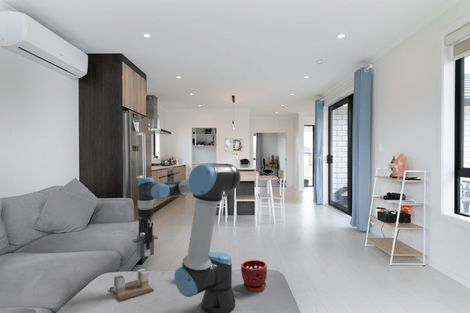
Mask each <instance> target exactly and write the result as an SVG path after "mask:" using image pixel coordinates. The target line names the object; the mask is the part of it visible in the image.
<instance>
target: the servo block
mask: <svg viewBox="0 0 470 313" xmlns="http://www.w3.org/2000/svg"><path fill="white" fill-rule="evenodd" d="M158 239H159V237H158V236H157V235H155V234H154V233H153V234H152V242H151V243H150V255H149V256H148V257H150V256H153V255H154V254H155V240H158ZM132 242H133V243H135V244H136V256H137V257H138V258H144V257H146V256H144V242H145V233H140V234H139V233H138V234H137V235H136V238H134V239H132Z"/></svg>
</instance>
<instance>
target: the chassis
mask: <svg viewBox="0 0 470 313" xmlns="http://www.w3.org/2000/svg"><path fill="white" fill-rule="evenodd" d="M109 290H110V292H111V294H112V295H114V297H116V298H117V300H118V301H119V302H125V301H128V300H131V299H134V298H138V297H140V296H143V295H147V294H150V293H153V292H154V288H153V287H152V286H150V285H149V271H148V270H146V269H145V268H141V269H137V279H136V280H132V281H129V282H126V278H125V277H124V276H123V275H122V274H117V275H114V276H113V286H109Z"/></svg>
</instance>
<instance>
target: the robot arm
mask: <svg viewBox="0 0 470 313" xmlns="http://www.w3.org/2000/svg"><path fill="white" fill-rule="evenodd" d="M240 173H241V172H240V170H239V169H238V168H237V167H236V166H235V165H233V164H231V163H208V162H207V163H202V164H198V165H196V166H195V167H194V168H193V169H192V170H191V172H190V174H189V175H188V178H187V179H182V180H179V181H168V182H167V181H166V182H155V180H154V177H150V176H149V177H147V176H146V177H140V178H138V183H137V194H138V195H137V208H138V209H137V216H138V220H137V222H138V235H139V234H140V233H145V242H144V256H145V257H150V256H151V255H150V243H151V242H152V234H153V235H154V233H153V229H154V228H153V227H154V223H153V222H152V220H151V217H152V216H154V203H155V201H154V199H155V200H166V199H167V198H172V197H173V198H174V197H185V196H188V195H192V197H193V199H194V200H195V206H194V212H193V218H192V224H191V231H190V238H189V243H188V250H187V255H186V256H185V255H184V257H183V259H182V264H181V266H180V267H178V268H177V269H176V270H175V272H174V275H173V276H174V282H175V285H176V288H177V290H178V291H179V293H180V294H181V295H182V296H183V297H186V298H190V297H193V296H197V295H198V294H200V293H203V296H202V299H201V310H202V311H203V312H204V313H231V312H232V311H234V310H235V308H236V299H235V295H234V293H233V292H234V291H233V288H232V282H233V281H232V279H233V278H232V269H233V268H232V266H233V263H232V256H231V255H229V254H228V253H225V252H221V251H211V246H212V239H213V232H214V228H215V221H216V214H217V210H218V209H217V208H218V204H219V203H220V202H222V201H223V196H224V193H228V192H232V191H233V190H236V188H238V186H239V185H240V182H241V174H240ZM210 251H211V252H210ZM149 255H150V256H149Z"/></svg>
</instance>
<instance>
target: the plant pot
mask: <svg viewBox="0 0 470 313" xmlns="http://www.w3.org/2000/svg"><path fill="white" fill-rule="evenodd" d="M251 267H252V268H251ZM240 271H241V272H240V273H241V277H242V280H243V287H244V288H245V289H246V290H248V291H251V292H259V291H262V290H264V289H265V288H266V287H267V282H266V281H267V272H268V266H267V263H266V262H265V261H263V260H259V259H258V260H257V259H250V260H245V261H244V262H242V263H241V265H240Z"/></svg>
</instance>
